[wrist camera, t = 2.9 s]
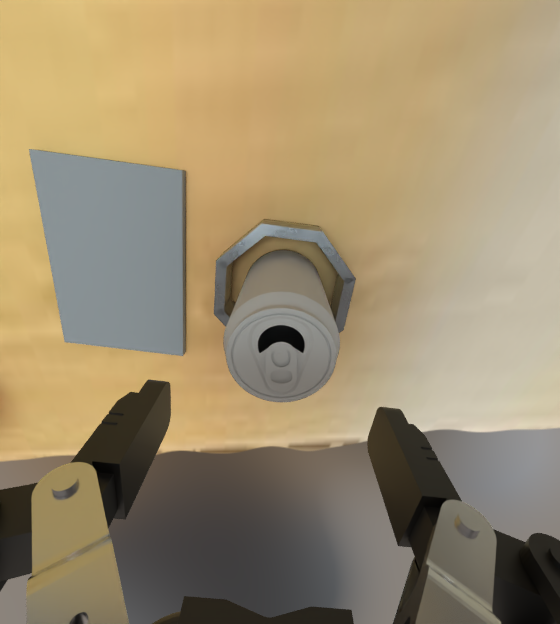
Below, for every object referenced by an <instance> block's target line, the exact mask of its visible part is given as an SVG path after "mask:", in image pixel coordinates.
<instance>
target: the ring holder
mask: <svg viewBox="0 0 560 624" xmlns="http://www.w3.org/2000/svg"><path fill="white" fill-rule="evenodd" d="M264 236H271V237H279V238H286V239H294V240H302V241H309V242H316V243H317V244H318V245H319V247H320V248H321V250H322V251H323V252H324V254H325V255H326V257H327V258H328V259H329V261H330V262H331V264H332V265H333V266H334V268H335V269H336V271H337V272H338V274H337V279H336V283H335V288H334V293H333V297H332V302H331V307H330V308H331V311H332V314H333V317H334V320H335V323H336V325H337V328H338V332H339V333H340V332H341V331H343V330H344V326H345V322H346V317H347V313H348V309H349V305H350V301H351V297H352V292H353V288H354V284H355V280H356V278H355V277H354V276H353V274H352V273H351V271H350V270H349V268H348V267H347V266H346V264H345V263H344V261H343V260H342V258H341V257H340V256H339V254H338V253H337V251H336V250H335V248H334V247H333V246H332V244H331V243H330V241H329V240H328V238H327V237H326V236H325V234H324V233H323V231H322V230H321V229H320V227H319V226H314V225H307V224H299V223H292V222H284V221H277V220H270V219H264V220H262V221H261V222H260V223H259V224H258V225H256V226H255V227H254V228H253V229H251V230H250V231H249V232H248V233H247V234H245V235H244V236H243V237H242V238H240V239H239V240H238V241H237V242H236V243H234V244H233V245H232V246H231V247H229V248H228V249H227V250H226V251H225V252H223V254H222V255H221V256H220V257H219V258H218V259H217V260H216V277H215V300H214V315H215V316H216V317H217V318H218V319H219V320H220V321H221V322H222V323H223V324H224V325H225V326H227V323H228V321H229V318H230V316H231V313H232V311H233V309H234V306H235V303H234V302H233V300H232V299H231V298H230V297H231V281H232V266H233V261H234V260H235V259H237V258H238V257H239V256H240V255H242V254H243V253H244V252H245V251H247V250H248V249H249V248H250V247H252V246H253V245H254V244H255V243H257V242H258V241H259V240H260V239H262V238H263V237H264Z"/></svg>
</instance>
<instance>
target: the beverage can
mask: <svg viewBox="0 0 560 624" xmlns="http://www.w3.org/2000/svg"><path fill="white" fill-rule="evenodd" d="M339 348H340V337H339V332H338V328H337V325H336V323H335V320H334V317H333V314H332V311H331V308H330V305H329V303H328V300H327V297H326V294H325V291H324V288H323V285H322V282H321V280H320V277H319V274H318V272H317V270H316V268H315V266H314V265H313V264H312V263H311V262H310V261H309V260H308V259H307V258H306V257H304V256H302V255H301V254H299V253H296V252H293V251H288V250H278V251H273V252H269V253H267V254H265V255H263V256H262V257H260V258H259V259H258V260H257V261H256V262H255V263H254V264H253V265H252V266H251V268H250V270H249V272H248V274H247V277H246V279H245V282H244V284H243V286H242V289H241V291H240V294H239V296H238V299H237V301H236V304H235V306H234V309H233V311H232V313H231V316H230V318H229V321H228V323H227V326H226V328H225V333H224V351H225V355H226V360H227V364H228V368H229V371H230V373H231V375H232V376H233V378H234V379H235V381H236V382H237V383H238V384H239V385H240V386H241V387H242V388H243V389H244V390H245V391H247V392H248V393H250V394H252V395H254V396H256V397H258V398H261V399H263V400H267V401H272V402H291V401H296V400H300V399H303V398H306V397H308V396H310V395H312V394H314V393H315V392H317V391H318V390H319V389H320V388H322V387H323V386H324V385H325V384H326V382H327V381H328V380H329V378H330V377H331V375H332V373H333V371H334V368H335V364H336V359H337V356H338V353H339Z"/></svg>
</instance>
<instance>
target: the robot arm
mask: <svg viewBox="0 0 560 624" xmlns="http://www.w3.org/2000/svg"><path fill="white" fill-rule="evenodd" d="M170 416H171V396H170V383H169V382H165V381H156V380H148V381H147V382H146V383H145V384H144V386H143V387H142V389H141V390H140V392H139V393H135V392H130V393H128V394H127V395H125V396H124V397H123V398H121V399H120V400H118V401H117V402H116V404H115V405H114V406H113V407H112V409H111V410H110V411H109V414H107V415H106V417H105V418H104V419H103V421H102V423H101V424H100V425H99V426H98V427H97V429H96V430H95V431H94V433H93V434H92V435H91V437H90V438H89V439H88V440H87V442H86V443H85V444H84V446H83V447H82V448H81V450H80V451H79V452H78V454H77V455H76V456H75V458H74V459H73V460H72V462H71V463H69V464H65V465H62V466H60V467H58V468H56V469H54V470H53V471H51V472H49V473H48V474H47V475H45V476H44V477H43V478H42V479H41V480H40V481H39V482H38V483H34V484H30V485H25V486H19V487H13V488H8V489H3V490H0V591H1V589H2V588H3V586H4V584H5V583H6V581H7V580H8V579H11V578H15V577H19V576H22V575H26V574H30V573H32V576H31V577H30V578H29V579H28V582H27V598H26V600H27V602H26V604H27V605H26V607H27V609H26V612H27V613H26V616H27V617H26V624H129V621H128V616H127V611H126V607H125V602H124V597H123V592H122V588H121V583H120V578H119V574H118V569H117V564H116V559H115V555H114V550H113V545H112V541H111V537H110V535H109V531H108V528H109V526H110V524H111V522H112V520H113V518H116V519H126V517H127V515H128V513H129V511H130V509H131V507H132V505H133V502H134V500H135V498H136V496H137V494H138V492H139V490H140V487H141V485H142V483H143V481H144V479H145V477H146V474H147V472H148V470H149V468H150V466H151V464H152V462H153V460H154V457H155V455H156V453H157V451H158V449H159V447H160V444H161V442H162V440H163V438H164V436H165V434H166V432H167V429H168V426H169V422H170ZM368 453H369V456H370V459H371V462H372V466H373V469H374V472H375V475H376V478H377V481H378V484H379V487H380V491H381V494H382V497H383V500H384V503H385V506H386V509H387V512H388V516H389V519H390V522H391V525H392V528H393V531H394V535H395V538H396V541H397V544H398V546H404V547H412V550H413V553H414V555H415V557H414V559H413V561H412V563H411V567H410V570H409V573H408V576H407V579H406V583H405V586H404V589H403V592H402V596H401V599H400V602H399V605H398V609H397V612H396V615H395V618H394V621H393V624H560V541H559V540H557V539H556V538H554V537H552V536H549V535H546V534H542V533H535V534H532V535H531V536H530V537H529V539H528V540H527V541H526V542H523V541H521V540H518V539H516V538H513V537H511V536H508V535H506V534H503V533H501V532H499V531H496V530H494V529H493V528H492V527H491V525H490V523H489V522H488V521H487V519H486V518H485V517H484V516H483V515H482V514H481V513H480V512H478V511H477V510H476V509H475V508H473V507H472V506H470V505H468V504H466V503H464V502H462V500H461V499H460V497H459V495H458V493H457V492H456V490H455V488H454V486H453V485H452V483H451V481H450V479H449V477H448V476H447V474H446V472H445V470H444V469H443V467H442V465H441V463H440V462H439V461H438V458H437V456H436V455H435V453H434V451H432V447H431V446H430V444H429V442H428V440H427V438H426V437H425V435H424V434H423V433H422V432H421V431H420V430H419V429H418V428H417V427H416V426H415V425H414V424H408V422H407V420H406V418H405V416H404V414H403V412H402V411H401V410H400V409H395V408H386V407H379V408H378V410H377V412H376V415H375V418H374V421H373V424H372V427H371V430H370V433H369V436H368ZM153 624H354V623H353V617H352V611H351V610H346V609H333V608H321V607H308V608H305V609H301V610H297V611H294V612H290V613H287V614H283V615H279V616H276V617H272V618H267V617H263V616H261V615H259V614H257V613H255V612H253V611H250V610H248V609H246V608H243V607H241V606H239V605H237V604H234V603H232V602H230V601H228V600H224V599H211V598H199V597H186V596H185V597H184V600H183V604H182V608H181V611H180V612H176V613H172V614H170V615H168V616H165V617H163V618H161V619H159V620H158V621H156V622H154V623H153Z"/></svg>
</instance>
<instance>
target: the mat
mask: <svg viewBox="0 0 560 624" xmlns="http://www.w3.org/2000/svg"><path fill="white" fill-rule="evenodd" d="M29 152H30V157H31V163H32V168H33V173H34V179H35V184H36V190H37V195H38V200H39V206H40V211H41V217H42V222H43V227H44V233H45V238H46V244H47V249H48V254H49V260H50V265H51V270H52V276H53V281H54V287H55V292H56V297H57V303H58V308H59V314H60V319H61V324H62V330H63V335H64V341H65V342H69V343H78V344H86V345H95V346H103V347H111V348H120V349H128V350H137V351H145V352H154V353H162V354H171V355H179V356H183V355H184V353H185V352H186V171H183V170H176V169H169V168H162V167H155V166H147V165H140V164H133V163H126V162H119V161H112V160H104V159H97V158H90V157H83V156H76V155H69V154H61V153H54V152H47V151H40V150H32V149H29Z"/></svg>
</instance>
